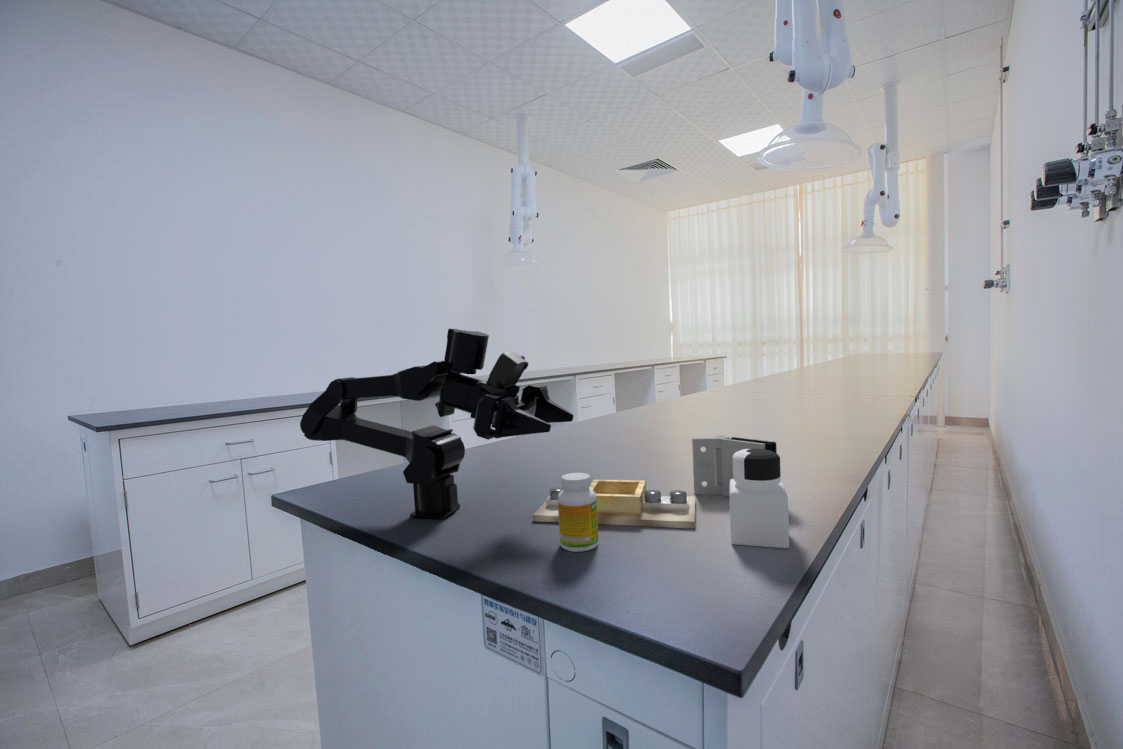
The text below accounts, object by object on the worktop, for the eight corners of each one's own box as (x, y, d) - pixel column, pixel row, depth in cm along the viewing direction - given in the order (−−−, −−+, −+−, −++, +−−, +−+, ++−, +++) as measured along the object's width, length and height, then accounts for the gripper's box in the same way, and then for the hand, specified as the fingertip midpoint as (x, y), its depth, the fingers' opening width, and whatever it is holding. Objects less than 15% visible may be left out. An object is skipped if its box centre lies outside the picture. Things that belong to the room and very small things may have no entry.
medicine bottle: (784, 529, 71) (781, 446, 70) (789, 549, 64) (787, 457, 63) (731, 525, 73) (728, 445, 72) (731, 545, 66) (728, 456, 66)
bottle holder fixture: (541, 512, 81) (540, 493, 80) (556, 495, 89) (555, 478, 89) (687, 517, 74) (686, 498, 74) (688, 499, 83) (688, 481, 83)
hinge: (692, 494, 89) (690, 438, 89) (704, 486, 93) (702, 433, 93) (773, 506, 81) (772, 444, 80) (782, 497, 85) (780, 438, 84)
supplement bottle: (599, 551, 67) (596, 480, 66) (559, 553, 67) (555, 482, 66) (597, 536, 72) (594, 470, 71) (560, 538, 72) (556, 472, 71)
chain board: (533, 521, 80) (532, 515, 79) (554, 497, 91) (553, 492, 91) (694, 528, 73) (694, 521, 73) (695, 502, 84) (695, 496, 84)
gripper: (450, 350, 72) (547, 377, 66) (511, 347, 89) (592, 367, 83) (438, 424, 73) (532, 456, 68) (500, 406, 91) (579, 430, 85)
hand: (562, 423), depth 76 cm, fingers open, 9 cm apart
